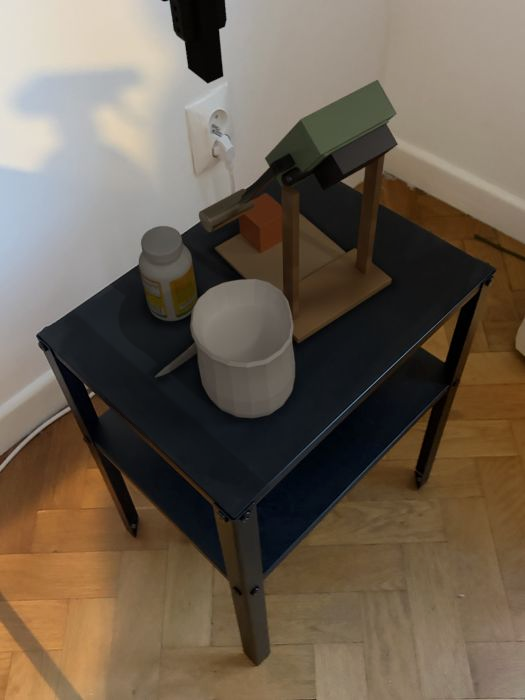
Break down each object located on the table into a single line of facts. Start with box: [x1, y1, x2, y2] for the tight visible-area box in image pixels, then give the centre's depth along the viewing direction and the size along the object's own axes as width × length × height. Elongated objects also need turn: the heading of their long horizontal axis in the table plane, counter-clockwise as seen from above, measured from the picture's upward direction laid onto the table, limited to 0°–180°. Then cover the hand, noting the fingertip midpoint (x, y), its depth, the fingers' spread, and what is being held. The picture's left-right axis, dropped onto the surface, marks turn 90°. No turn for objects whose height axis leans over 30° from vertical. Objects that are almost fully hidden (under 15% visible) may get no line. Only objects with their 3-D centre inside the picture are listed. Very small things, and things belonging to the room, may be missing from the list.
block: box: [238, 192, 282, 253], centre depth 82 cm, size 4×4×4 cm
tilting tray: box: [198, 79, 399, 233], centre depth 65 cm, size 15×16×5 cm
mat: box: [214, 212, 347, 292], centre depth 82 cm, size 10×11×1 cm
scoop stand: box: [280, 154, 393, 344], centre depth 71 cm, size 6×13×18 cm, turn 127°
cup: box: [189, 279, 296, 419], centre depth 68 cm, size 10×10×10 cm
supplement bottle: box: [138, 225, 199, 322], centre depth 75 cm, size 5×5×10 cm
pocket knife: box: [154, 341, 198, 378], centre depth 74 cm, size 14×1×2 cm, turn 131°
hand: (205, 72), depth 57 cm, fingers closed
